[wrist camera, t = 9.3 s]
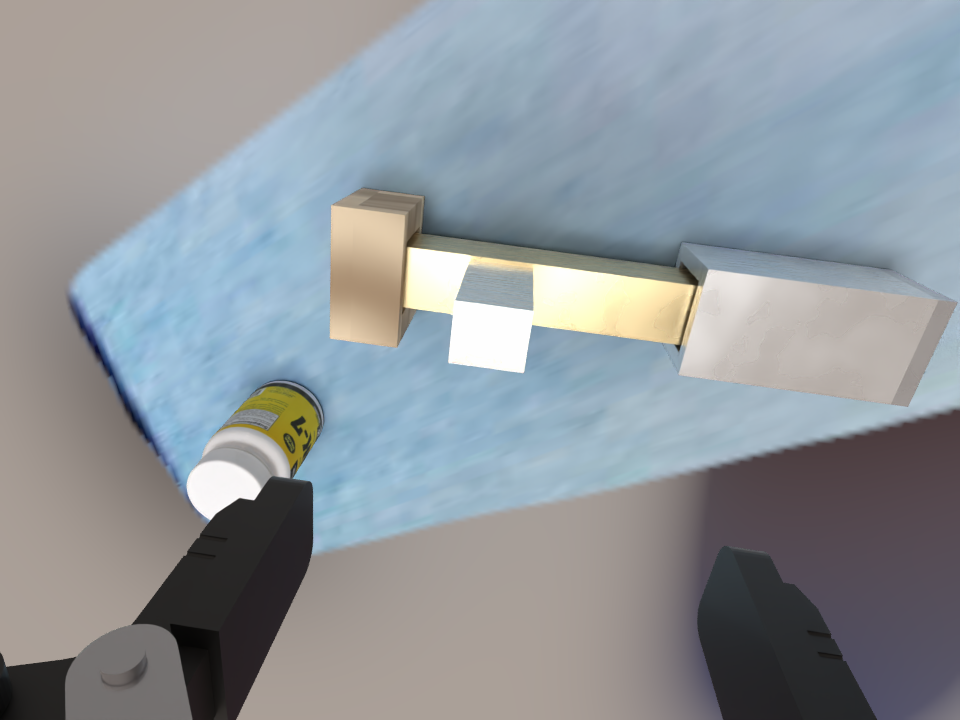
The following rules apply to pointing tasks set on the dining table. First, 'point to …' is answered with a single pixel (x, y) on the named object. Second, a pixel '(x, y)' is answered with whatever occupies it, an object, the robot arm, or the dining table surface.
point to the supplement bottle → (256, 446)
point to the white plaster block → (807, 325)
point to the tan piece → (539, 296)
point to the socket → (371, 265)
